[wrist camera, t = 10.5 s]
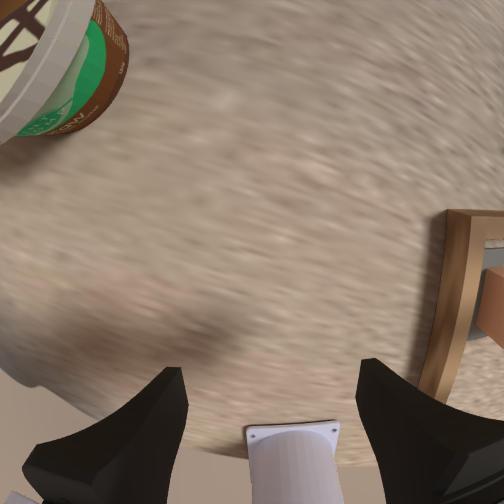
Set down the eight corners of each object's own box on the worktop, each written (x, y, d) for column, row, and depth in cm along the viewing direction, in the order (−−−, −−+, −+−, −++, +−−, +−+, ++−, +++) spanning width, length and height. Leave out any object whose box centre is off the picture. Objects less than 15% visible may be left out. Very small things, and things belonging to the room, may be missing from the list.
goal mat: (515, 326, 22) (517, 328, 21) (456, 341, 22) (458, 342, 21) (532, 245, 19) (534, 246, 19) (473, 249, 20) (476, 250, 19)
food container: (32, 181, 19) (-69, 199, 9) (14, 113, 17) (-81, 106, 8) (174, 96, 18) (102, 42, 8) (145, 25, 16) (77, -50, 6)
